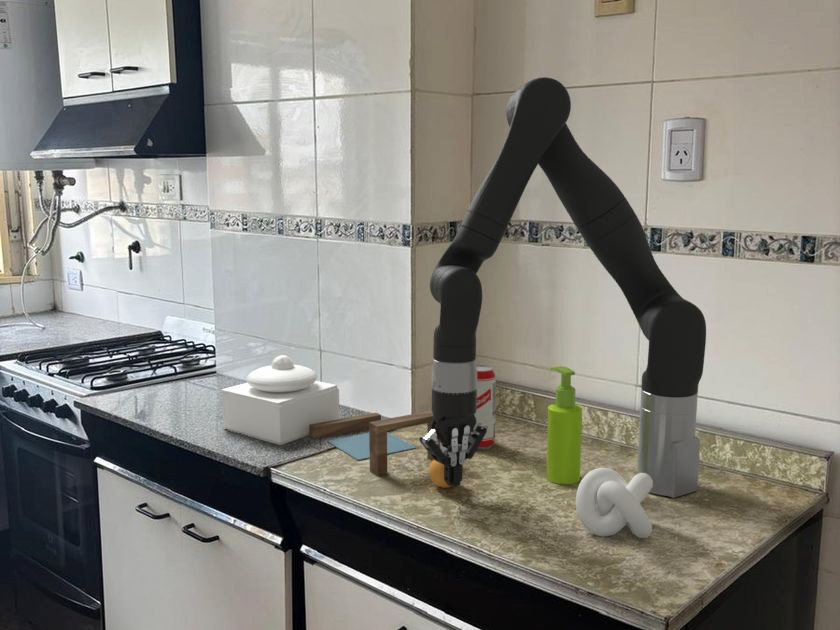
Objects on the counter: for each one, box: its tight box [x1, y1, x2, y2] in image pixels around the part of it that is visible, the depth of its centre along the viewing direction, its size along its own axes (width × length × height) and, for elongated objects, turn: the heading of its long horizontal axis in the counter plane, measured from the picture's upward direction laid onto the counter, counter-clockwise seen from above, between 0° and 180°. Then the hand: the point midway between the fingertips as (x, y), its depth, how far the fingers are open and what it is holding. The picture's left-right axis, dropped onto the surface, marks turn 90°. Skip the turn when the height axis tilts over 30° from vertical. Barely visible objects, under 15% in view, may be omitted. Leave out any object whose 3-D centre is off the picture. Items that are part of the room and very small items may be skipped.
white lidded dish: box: [220, 354, 341, 446], centre depth 176 cm, size 18×18×16 cm
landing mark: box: [327, 432, 417, 461], centre depth 165 cm, size 13×13×1 cm
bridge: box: [368, 410, 442, 477], centre depth 152 cm, size 3×15×9 cm, turn 123°
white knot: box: [575, 467, 653, 539], centre depth 125 cm, size 11×12×9 cm
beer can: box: [469, 364, 497, 451], centre depth 163 cm, size 6×6×16 cm
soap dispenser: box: [546, 365, 583, 486], centre depth 145 cm, size 6×7×20 cm
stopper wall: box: [308, 412, 382, 439], centre depth 174 cm, size 2×16×2 cm, turn 123°
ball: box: [428, 460, 451, 489], centre depth 143 cm, size 6×6×6 cm
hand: (453, 484), depth 139 cm, fingers closed
